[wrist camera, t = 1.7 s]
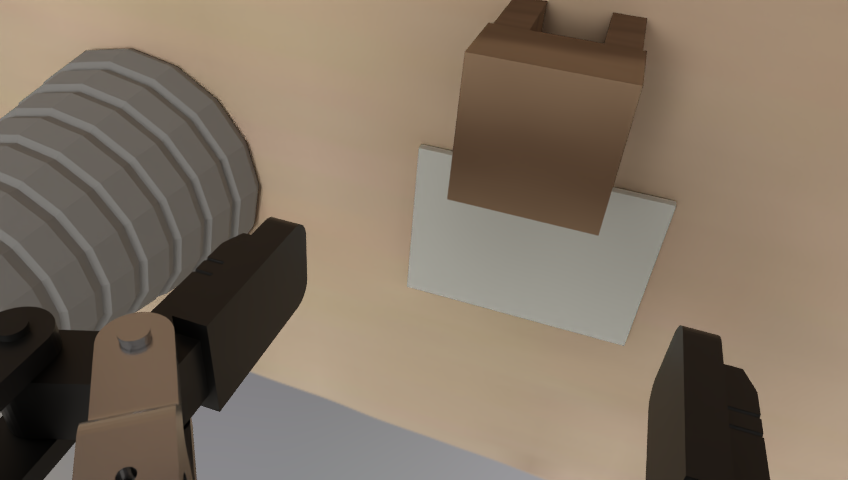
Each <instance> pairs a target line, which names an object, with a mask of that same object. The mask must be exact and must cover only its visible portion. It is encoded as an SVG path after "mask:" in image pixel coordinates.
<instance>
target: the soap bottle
mask: <svg viewBox="0 0 848 480" xmlns="http://www.w3.org/2000/svg"><path fill="white" fill-rule="evenodd" d="M258 187H259V184H258V180H257V177H256V174H255V170H254V167H253V164H252V160H251V157H250V154H249V150H248V147H247V144H246V141H245V140H244V138H243V137H242V135H241V134H240V132H239V131H238V130H237V128H236V127H235V125H234V124H233V122H232V121H231V119H230V118H229V116H228V115H227V113H226V112H225V110H224V109H223V108H222V106H221V105H220V103H219V102H218V100H217V99H216V98H214V97H213V96H212V95H211V94H210V93H208V92H207V91H206V90H205V89H204V88H202V87H201V86H200V85H199V84H198V83H196V82H195V81H194V80H193V79H192V78H190V77H189V76H188V75H187V74H186V73H184V72H183V71H182V70H181V69H179V68H178V67H177V66H175V65H172V64H169V63H167V62H164V61H162V60H159V59H157V58H154V57H152V56H149V55H147V54H144V53H142V52H139V51H137V50H134V49H109V50H86V51H85V52H83V53H82V54H81V55H79V56H78V57H77V58H75V59H74V60H73V61H71V62H70V63H68V64H67V65H66V66H64V67H63V68H62V69H60V70H59V71H58V72H56V73H55V74H54V75H53V76H51V77H50V78H49V79H47V80H46V81H45V82H44V83H43V85H42V86H40V87H39V88H38V89H36V90H35V91H34V92H32V93H31V94H30V95H29V96H27V97H26V98H25V99H23V100H22V101H21V102H20V103H19V105H18V106H17V107H15V108H14V109H13V110H11V111H10V112H9V113H7V114H6V115H5V116H4V117H2V118H1V119H0V312H1V311H4V310H7V309H11V308H16V307H26V306H30V307H39V308H42V309H45V310H47V311H49V312H50V313H51V314H52V315H53V316H54V318H55V321H56V324H57V327H58V330H85V331H100V330H101V329H102V328H103V327H104V326H105V325H107V324H108V323H109V322H111V321H113V320H114V319H116V318H119V317H121V316H124V315H127V314H131V313H135V312H137V311H138V310H140V309H141V308H143V307H144V306H146V305H147V304H149V303H150V302H152V301H153V300H155V299H156V297H158V296H160V295H163V294H166V293H168V292H169V291H171V290H172V289H174V288H175V287H177V286H178V285H179V284H180V283H181V282H182V281H183V280H184V279H185V278H186V277H187V276H188V275H189V274H191V273H192V272H195V270H196V268H197V267H198V266H199V265H200V264H201V263H202V262H203V261H204V260H207V257H208V256H209V255H210V254H211V253H212V252H213V251H214V250H215V249H216V248H217V247H218V246H219V245H220V244H221V243H223V242H225V241H227V240H229V239H231V238H233V237H236V236H238V235H240V234H242V233H246V234H248V233H249V231H250V230H251V229H252V227H253V225H254V222H255V216H256V206H257V197H258Z"/></svg>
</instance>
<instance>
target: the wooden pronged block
mask: <svg viewBox="0 0 848 480" xmlns="http://www.w3.org/2000/svg"><path fill="white" fill-rule="evenodd" d="M546 6H547V1H542V0H512V1H511V2H510V3H509V5H508V6H507V7H506V8H505V10H504V11H503V12H502V14H501V15H500V16H499V17H498V19H497V20H496V21H495V22H494V24H493V23H488V24H487V25H486V27H485V28H484V29H483V30H482V32H481V33H480V34H479V35H478V36H477V38H476V39H475V40H474V41H473V43H472V44H471V45H470V46H469V47H468V49H467V50H466V51H465V55H464V63H463V71H462V79H461V88H460V96H459V104H458V113H457V121H456V129H455V137H454V146H453V154H452V162H451V171H450V179H449V187H448V195H447V199H448V200H452V201H456V202H460V203H465V204H469V205H473V206H477V207H481V208H485V209H489V210H494V211H498V212H502V213H506V214H510V215H514V216H519V217H523V218H527V219H531V220H535V221H539V222H543V223H548V224H552V225H556V226H560V227H564V228H568V229H572V230H577V231H581V232H585V233H589V234H593V235H597V236H599V232H600V229H601V226H602V222H603V219H604V215H605V212H606V209H607V205H608V202H609V199H610V195H611V192H612V189H613V185H614V182H615V178H616V175H617V172H618V168H619V165H620V162H621V158H622V155H623V152H624V148H625V145H626V141H627V138H628V135H629V131H630V128H631V125H632V121H633V118H634V115H635V111H636V108H637V104H638V101H639V98H640V94H641V91H642V88H643V81H644V72H645V63H646V54H647V51H643V47H644V39H645V31H646V23H647V18H642V17H636V16H630V15H624V14H618V13H613V15H612V18H611V22H610V25H609V29H608V32H607V36H606V39H605V43H598V42H593V41H587V40H582V39H576V38H571V37H565V36H559V35H554V34H548V33H543V32H542V27H543V22H544V16H545V11H546Z"/></svg>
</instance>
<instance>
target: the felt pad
mask: <svg viewBox="0 0 848 480" xmlns="http://www.w3.org/2000/svg"><path fill="white" fill-rule="evenodd" d="M452 154H453V151H450V150H446V149H441V148H437V147H433V146H428V145H424V144H421V146H420V147H419V152H418V164H417V176H416V187H415V199H414V211H413V222H412V234H411V246H410V258H409V269H408V281H407V287H410V288H414V289H418V290H421V291H425V292H429V293H432V294H436V295H440V296H443V297H447V298H451V299H454V300H458V301H461V302H465V303H469V304H472V305H476V306H480V307H483V308H487V309H491V310H494V311H498V312H502V313H505V314H509V315H513V316H516V317H520V318H524V319H527V320H531V321H535V322H538V323H542V324H546V325H549V326H553V327H557V328H560V329H564V330H568V331H571V332H575V333H579V334H582V335H586V336H590V337H593V338H597V339H600V340H604V341H608V342H611V343H615V344H619V345H622V346H624V345H625V342H626V339H627V337H628V334H629V331H630V329H631V326H632V323H633V321H634V318H635V315H636V313H637V310H638V307H639V305H640V302H641V299H642V297H643V294H644V291H645V289H646V286H647V283H648V280H649V278H650V275H651V272H652V270H653V267H654V264H655V262H656V259H657V256H658V254H659V251H660V248H661V246H662V243H663V240H664V238H665V235H666V232H667V230H668V227H669V224H670V221H671V219H672V216H673V213H674V211H675V208H676V201H673V200H668V199H664V198H660V197H655V196H651V195H646V194H642V193H637V192H633V191H628V190H624V189H619V188H615V187H613V189H612V192H611V195H610V199H609V202H608V205H607V209H606V212H605V215H604V219H603V222H602V226H601V229H600V232H599V236H597V235H593V234H589V233H585V232H581V231H577V230H572V229H568V228H564V227H560V226H556V225H552V224H548V223H543V222H539V221H535V220H531V219H527V218H523V217H519V216H514V215H510V214H506V213H502V212H498V211H494V210H489V209H485V208H481V207H477V206H473V205H469V204H465V203H460V202H456V201H452V200H448V199H447V195H448V187H449V179H450V171H451V162H452Z"/></svg>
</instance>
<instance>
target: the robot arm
mask: <svg viewBox="0 0 848 480" xmlns="http://www.w3.org/2000/svg"><path fill="white" fill-rule="evenodd" d="M306 285H307V256H306V231H305V228H304V226H303V225H300V224H296V223H292V222H288V221H285V220H281V219H277V218H273V217H270V218H268V219H267V220H265V221H264V222H263V223H262V224H261V225H260V226H259V227H258V228H257V229H256V231H255V232H254V233H253V234H252V235H249V234H246V233H242V234H240V235H238V236H236V237H233V238H231V239H229V240H227V241H225V242H223V243H221V244H220V245H219V246H218V247H217V248H216V249H215V250H214V251H213V252H212V253H211V254H210V255H209V256H208V257H207V260H204V261H203V262H202V263H201V264H200V265H199V266H198V267H197V268H196V270H195V272H192V273H191V274H189V275H188V276H187V277H186V278H185V279H184V280H183V281H182V282H181V283H180V284H179V285H178V286H177V287H176V288H175V289H174V290H173V291H172V292H171V293H170V294H169V295H168V296H167V297H166V298H165V299H164V300H163V301H162V302H161V303H160V304H159V305H157V306H156V307H155V308H154V309H153V310H152V311H151V312H137V313H131V314H127V315H124V316H121V317H119V318H116V319H114V320H113V321H111V322H109V323H108V324H107V325H105V326H104V327H103V328H102V329H101V330H100V331H85V330H58V327H57V324H56V321H55V318H54V316H53V315H52V314H51V313H50V312H49V311H47V310H45V309H42V308H39V307H30V306H26V307H16V308H11V309H7V310H4V311H1V312H0V412H1V413H2V415H3V416H2V417H1V418H0V480H43V479H44V478H45V477H46V476H47V475H48V474H49V472H50V471H51V470H52V469H53V468H54V467H55V465H56V464H57V463H58V462H59V461H60V460H61V458H62V457H63V456H64V455H65V454H66V452H67V451H68V450H69V449H70V448H71V447H72V445H73V444H74V443H75V442H76V446H75V457H74V467H73V478H72V480H197V477H196V463H195V450H194V438H193V425H192V419H191V417H192V416H193V414H194V413H195V412H196V411H197V409H198V408H199V407H200V406H204V407H207V408H210V409H213V410H216V411H219V412H220V411H221V409H222V408H223V407H224V405H225V404H226V403H227V401H228V400H229V399H230V397H231V396H232V395H233V393H234V392H235V391H236V389H237V388H238V387H239V385H240V384H241V383H242V381H243V380H244V379H245V377H246V376H247V375H248V373H249V372H250V371H251V369H252V368H253V367H254V365H255V364H256V363H257V361H258V360H259V359H260V357H261V356H262V355H263V353H264V352H265V351H266V349H267V348H268V347H269V345H270V344H271V343H272V341H273V340H274V339H275V337H276V336H277V335H278V333H279V332H280V331H281V329H282V328H283V327H284V325H285V324H286V323H287V321H288V320H289V319H290V317H291V316H292V315H293V313H294V312H295V310H296V309H297V308H298V306H299V305H300V303H301V301H302V299H303V296H304V293H305V290H306ZM760 415H761V414H760V407H759V400H758V394H757V391H756V389H755V388H754V386H753V385H752V383H751V381H750V380H749V378H748V377H747V375H746V373H745V372H744V370H743V369H740V368H737V367H733V366H729V365H725V364H724V363H723V352H722V342H721V337H720V336H719V335H715V334H711V333H707V332H704V331H700V330H696V329H692V328H688V327H685V326H679V327H678V328H677V330H676V332H675V334H674V336H673V338H672V341H671V343H670V345H669V348H668V350H667V352H666V355H665V357H664V359H663V362H662V364H661V367H660V369H659V371H658V374H657V376H656V378H655V381H654V384H653V387H652V391H651V396H650V401H649V410H648V435H647V461H646V480H770V476H769V469H768V462H767V455H766V448H765V442H764V438H762V436H763V428H762V421H761V419H760Z"/></svg>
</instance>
